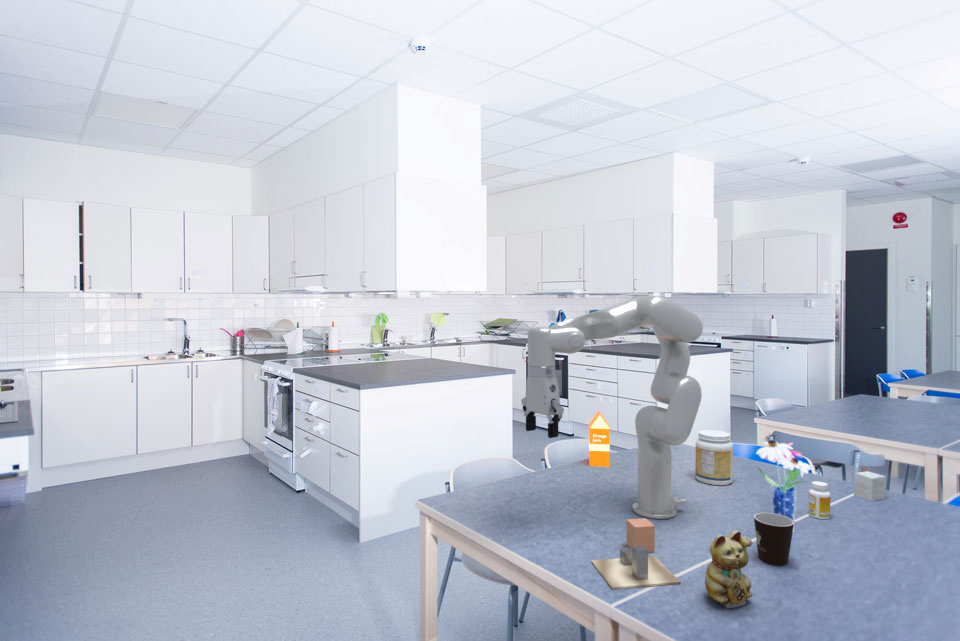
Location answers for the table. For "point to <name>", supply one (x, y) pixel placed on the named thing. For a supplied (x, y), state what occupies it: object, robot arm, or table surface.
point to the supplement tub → (714, 457)
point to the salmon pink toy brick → (641, 534)
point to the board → (624, 579)
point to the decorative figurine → (728, 570)
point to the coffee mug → (773, 538)
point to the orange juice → (599, 441)
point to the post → (640, 562)
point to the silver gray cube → (626, 556)
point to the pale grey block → (869, 485)
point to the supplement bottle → (819, 500)
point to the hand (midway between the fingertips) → (541, 433)
